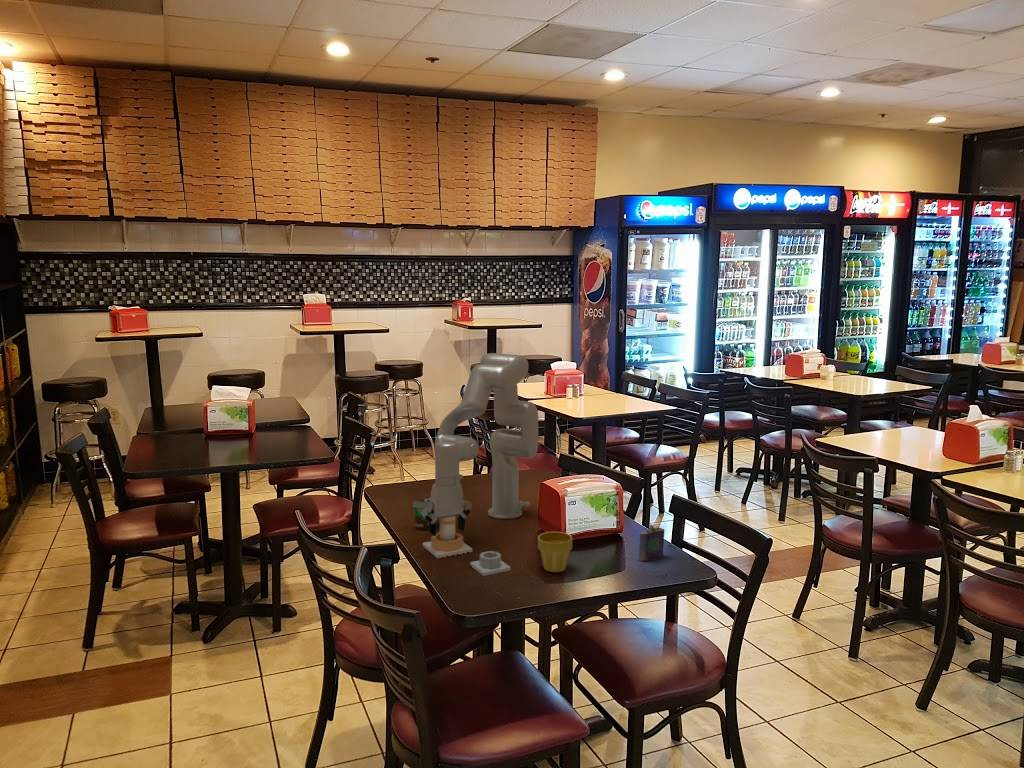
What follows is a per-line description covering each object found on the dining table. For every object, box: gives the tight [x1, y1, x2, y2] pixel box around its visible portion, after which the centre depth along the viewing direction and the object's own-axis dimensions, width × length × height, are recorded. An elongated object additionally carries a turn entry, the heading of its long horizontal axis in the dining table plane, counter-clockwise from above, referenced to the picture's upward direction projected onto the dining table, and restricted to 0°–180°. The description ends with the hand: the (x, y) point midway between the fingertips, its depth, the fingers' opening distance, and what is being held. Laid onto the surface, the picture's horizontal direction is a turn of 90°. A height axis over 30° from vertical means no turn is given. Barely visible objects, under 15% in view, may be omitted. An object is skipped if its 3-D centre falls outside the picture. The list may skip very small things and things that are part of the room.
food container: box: [412, 497, 440, 530], centre depth 259 cm, size 12×6×10 cm, turn 143°
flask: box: [638, 523, 665, 562], centre depth 233 cm, size 9×3×11 cm, turn 121°
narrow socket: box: [469, 550, 512, 577], centre depth 224 cm, size 9×9×4 cm
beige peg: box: [439, 515, 457, 541], centre depth 238 cm, size 5×5×10 cm
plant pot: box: [537, 531, 573, 573], centre depth 224 cm, size 10×10×10 cm
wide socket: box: [422, 531, 473, 559], centre depth 239 cm, size 12×12×4 cm
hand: (447, 532), depth 238 cm, fingers open, 9 cm apart
